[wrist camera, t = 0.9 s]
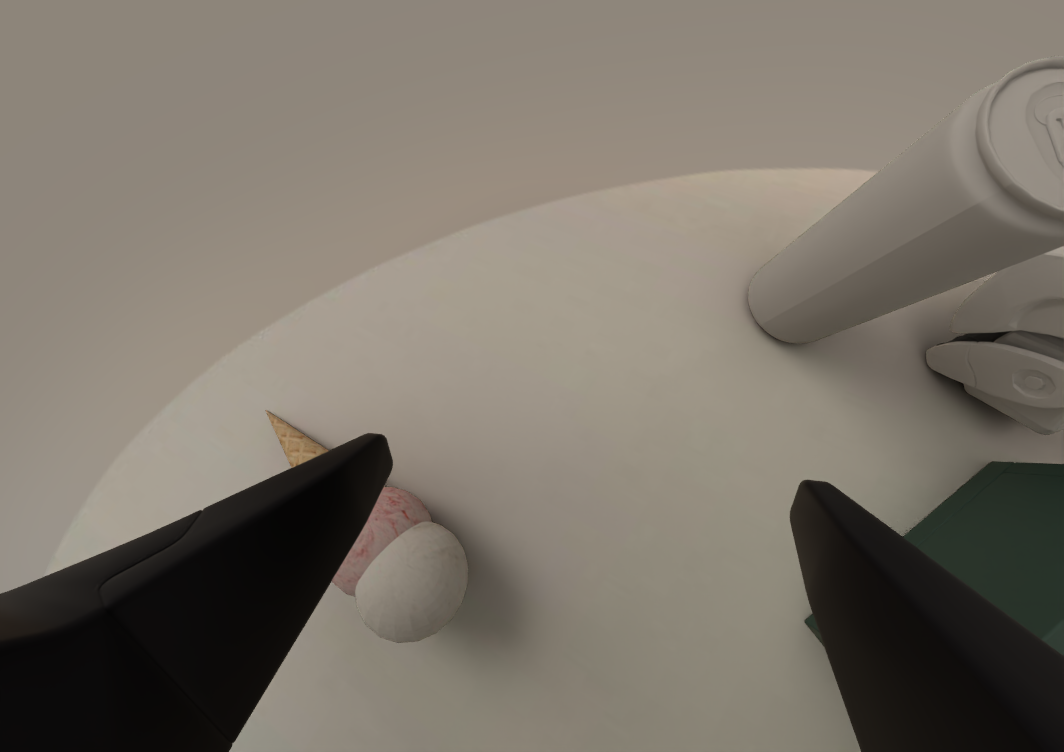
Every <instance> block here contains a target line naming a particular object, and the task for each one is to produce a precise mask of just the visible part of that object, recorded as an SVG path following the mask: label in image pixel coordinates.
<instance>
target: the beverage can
mask: <svg viewBox="0 0 1064 752" xmlns="http://www.w3.org/2000/svg"><path fill="white" fill-rule="evenodd" d="M1063 246H1064V57H1055V56H1053V57H1048V58H1043V59H1040V60H1035V61H1030V62H1028V63H1026V64H1024V65H1022V66H1020V67H1018V68H1016V69H1014V70H1012V71H1010V72H1008V73H1007V74H1006V75H1005V76H1004V77H1003V78H1002V79H1001V80H999V81H997V82H996V83H994V84H992V85H989V86H988V87H986V88H984V89H982V90H980V91H978V92H976V93H975V94H973V95H972V96H971V97H969V98H968V99H967V100H966V101H965V102H964V103H962V104H961V105H960V106H958V107H957V108H956V109H955V110H954V111H952V112H951V113H950V114H949V115H948V116H946V117H945V118H944V119H943V120H941V121H940V122H939V123H938V124H936V125H935V126H934V127H933V128H932V129H931V130H929V131H928V132H927V133H925V134H924V135H923V136H922V137H921V138H919V139H918V140H917V141H916V142H914V143H913V144H912V145H911V146H910V147H908V148H907V149H906V150H905V151H904V152H902V153H901V154H900V155H899V156H897V157H896V158H895V159H894V160H892V161H891V162H890V163H889V164H887V165H886V166H885V167H884V168H883V169H881V170H880V171H879V172H878V173H876V174H875V175H874V176H873V177H872V178H870V179H869V180H868V181H867V182H865V183H864V184H863V185H862V186H861V187H859V188H858V189H857V190H856V191H854V192H853V193H852V194H851V195H850V196H848V197H847V198H846V199H845V200H843V201H842V202H841V203H840V204H839V205H837V206H836V207H835V208H834V209H832V210H831V211H830V212H829V213H828V214H826V215H825V216H824V217H823V218H821V219H820V220H819V221H818V222H817V223H815V224H814V225H813V226H812V227H810V228H809V229H808V230H807V231H806V232H804V233H803V234H802V235H801V236H799V237H798V238H797V239H796V240H795V241H793V242H792V243H791V244H790V245H788V246H787V247H786V248H785V249H784V250H782V251H781V252H780V253H779V254H777V255H776V256H775V257H774V258H773V259H771V260H770V261H769V262H768V263H766V264H765V265H764V266H763V267H762V268H761V269H760V270H759V271H758V272H757V273H756V274H755V276H754V277H753V279H752V281H751V283H750V286H749V291H748V303H749V307H750V309H751V312H752V315H753V317H754V318H755V320H756V321H757V323H758V324H759V325H760V326H761V327H762V328H763V329H764V330H765V331H766V332H767V333H769V334H770V335H772V336H773V337H775V338H777V339H778V340H781V341H785V342H788V343H801V344H804V343H808V342H812V341H816V340H818V339H821V338H824V337H826V336H829V335H832V334H834V333H837V332H840V331H842V330H845V329H848V328H850V327H853V326H856V325H858V324H861V323H863V322H866V321H869V320H871V319H874V318H877V317H879V316H882V315H884V314H887V313H890V312H892V311H895V310H897V309H900V308H903V307H905V306H908V305H911V304H913V303H916V302H918V301H921V300H924V299H926V298H929V297H932V296H934V295H937V294H939V293H942V292H945V291H947V290H950V289H953V288H955V287H958V286H960V285H963V284H966V283H968V282H971V281H973V280H976V279H979V278H981V277H984V276H987V275H989V274H992V273H994V272H997V271H1000V270H1002V269H1005V268H1008V267H1010V266H1013V265H1015V264H1018V263H1021V262H1023V261H1026V260H1028V259H1031V258H1034V257H1036V256H1039V255H1042V254H1044V253H1047V252H1049V251H1052V250H1055V249H1057V248H1060V247H1063Z"/></svg>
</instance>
